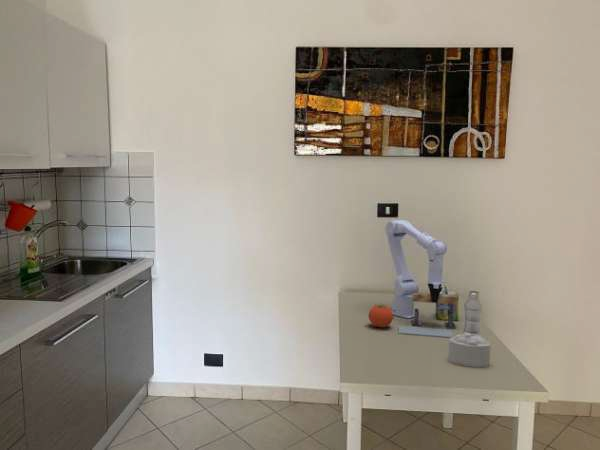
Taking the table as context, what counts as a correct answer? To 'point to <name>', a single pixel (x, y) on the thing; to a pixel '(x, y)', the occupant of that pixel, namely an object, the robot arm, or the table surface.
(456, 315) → the chalk box
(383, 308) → the tomato
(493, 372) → the table surface
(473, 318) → the plastic bottle
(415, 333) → the mat
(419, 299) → the wavy strip
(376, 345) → the table surface
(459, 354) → the lumpy-topped squat cylinder
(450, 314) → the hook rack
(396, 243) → the robot arm
